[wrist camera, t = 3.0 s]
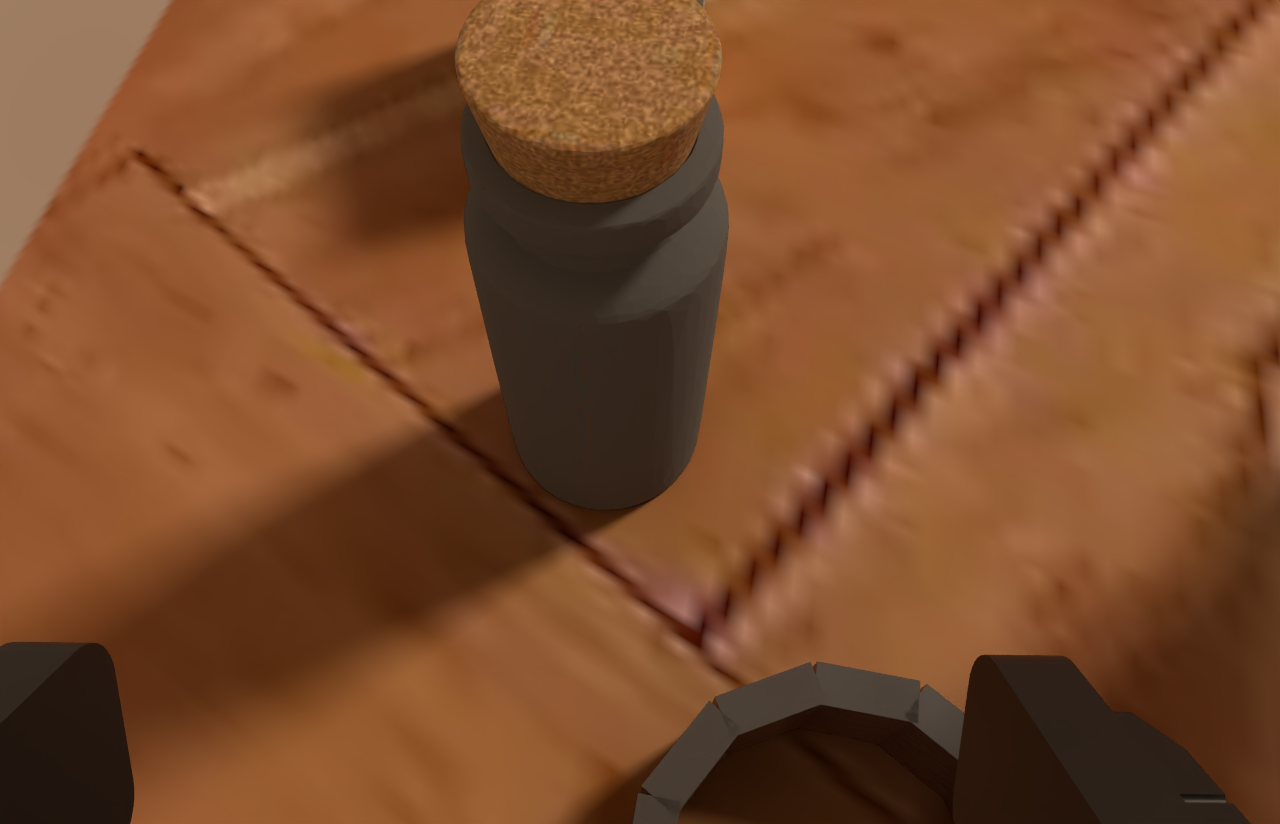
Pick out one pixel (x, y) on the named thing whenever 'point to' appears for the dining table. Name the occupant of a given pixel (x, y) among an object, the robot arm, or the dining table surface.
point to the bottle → (596, 232)
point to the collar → (815, 701)
